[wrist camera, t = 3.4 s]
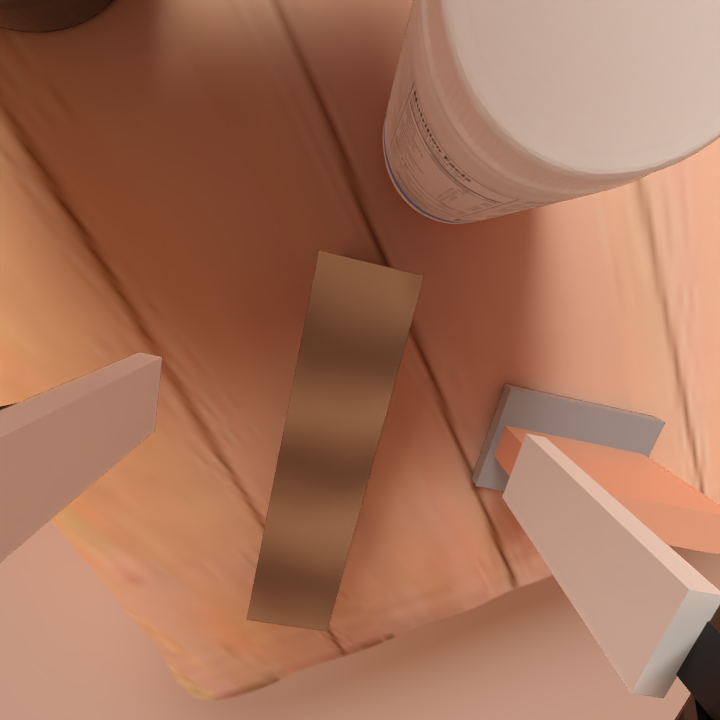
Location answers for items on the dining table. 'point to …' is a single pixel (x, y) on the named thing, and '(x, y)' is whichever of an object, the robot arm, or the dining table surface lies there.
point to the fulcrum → (602, 461)
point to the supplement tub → (546, 100)
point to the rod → (331, 435)
